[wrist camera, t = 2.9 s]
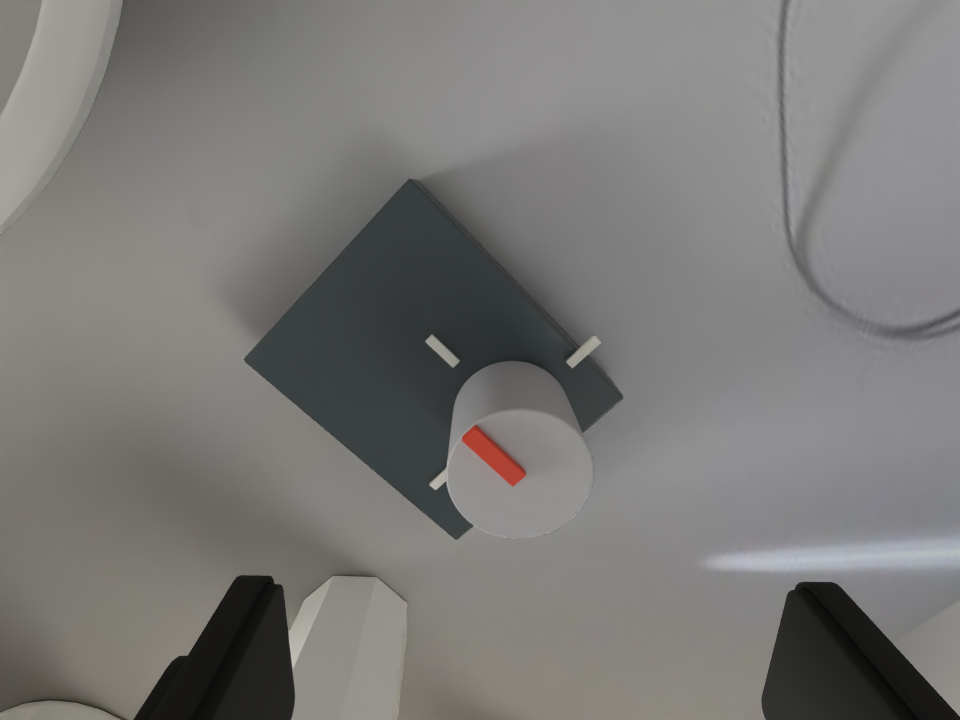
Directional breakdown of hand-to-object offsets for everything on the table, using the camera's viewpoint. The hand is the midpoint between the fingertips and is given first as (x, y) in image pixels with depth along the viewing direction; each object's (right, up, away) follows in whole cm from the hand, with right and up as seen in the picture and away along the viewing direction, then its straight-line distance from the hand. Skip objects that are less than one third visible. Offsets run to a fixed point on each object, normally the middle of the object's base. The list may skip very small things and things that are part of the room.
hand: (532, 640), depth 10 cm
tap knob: (0, +3, +10) cm, 11 cm away
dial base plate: (-3, +5, +12) cm, 13 cm away
